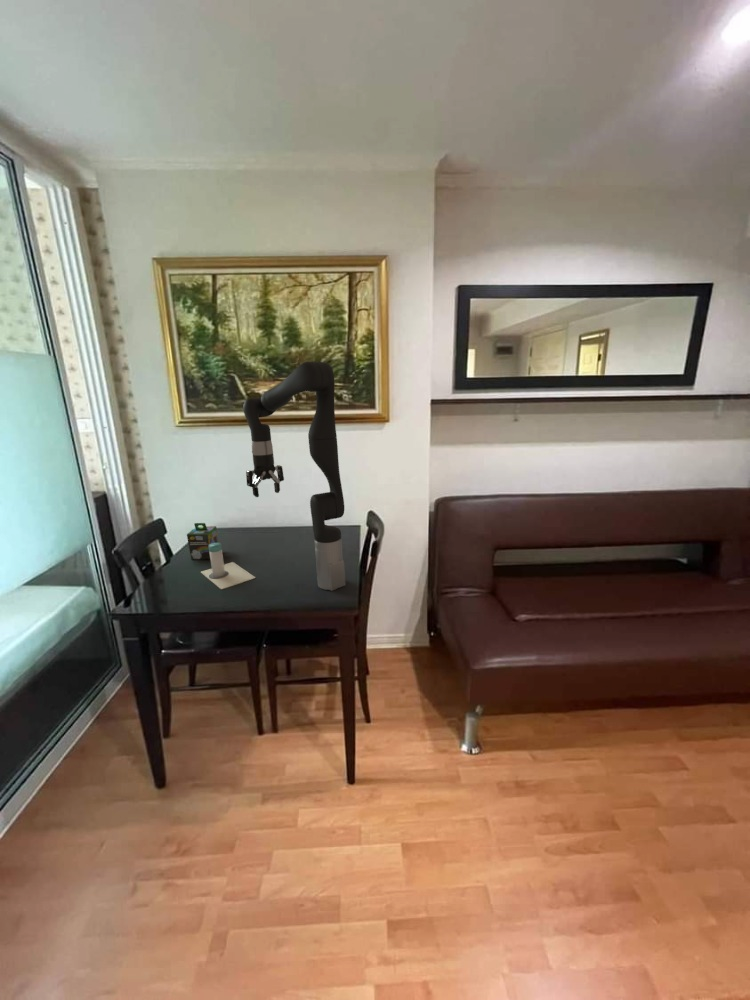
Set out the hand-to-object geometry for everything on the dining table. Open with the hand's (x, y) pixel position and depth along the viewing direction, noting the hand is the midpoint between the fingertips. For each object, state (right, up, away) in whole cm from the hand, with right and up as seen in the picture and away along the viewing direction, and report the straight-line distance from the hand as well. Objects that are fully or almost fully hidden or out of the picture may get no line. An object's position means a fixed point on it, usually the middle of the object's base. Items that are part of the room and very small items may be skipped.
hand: (267, 494), depth 168 cm
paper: (-14, -30, -3) cm, 34 cm away
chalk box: (-30, -26, +17) cm, 43 cm away
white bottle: (-17, -30, -3) cm, 35 cm away
